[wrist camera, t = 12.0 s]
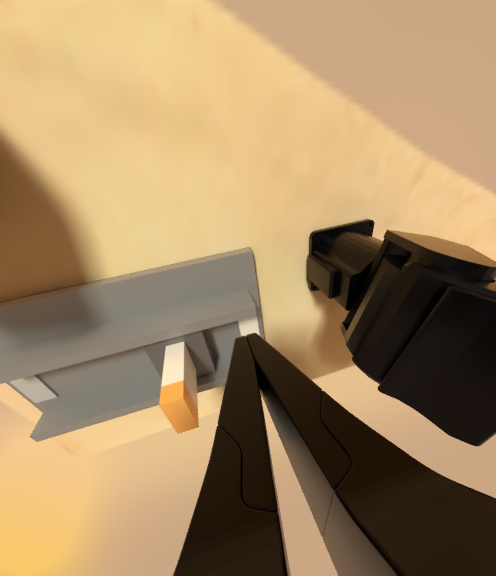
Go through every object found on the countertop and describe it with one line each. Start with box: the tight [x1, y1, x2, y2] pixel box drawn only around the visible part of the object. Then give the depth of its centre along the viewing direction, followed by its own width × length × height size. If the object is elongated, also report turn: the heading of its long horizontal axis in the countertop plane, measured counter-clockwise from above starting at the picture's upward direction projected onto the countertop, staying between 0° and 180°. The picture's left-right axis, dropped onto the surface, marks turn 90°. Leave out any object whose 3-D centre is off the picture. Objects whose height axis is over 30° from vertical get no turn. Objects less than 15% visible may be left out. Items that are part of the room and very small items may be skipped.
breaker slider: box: [143, 330, 215, 434], centre depth 18 cm, size 5×6×7 cm
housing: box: [0, 247, 264, 442], centre depth 20 cm, size 24×16×4 cm, turn 98°
